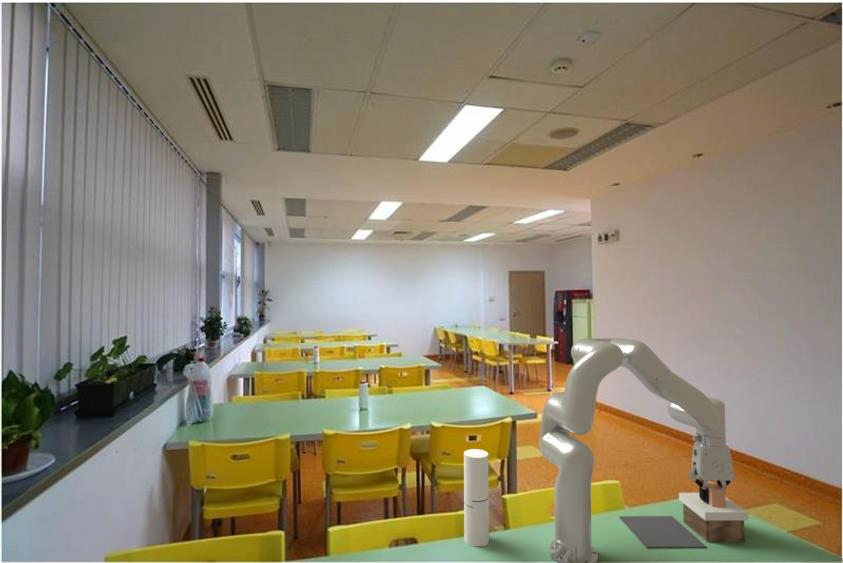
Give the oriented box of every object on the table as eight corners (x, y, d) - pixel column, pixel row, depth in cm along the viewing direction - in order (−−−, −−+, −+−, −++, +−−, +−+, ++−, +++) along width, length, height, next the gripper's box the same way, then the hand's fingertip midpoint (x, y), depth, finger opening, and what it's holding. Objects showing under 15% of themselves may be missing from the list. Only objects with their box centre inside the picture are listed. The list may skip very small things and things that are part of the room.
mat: (646, 548, 123) (646, 546, 123) (619, 517, 140) (619, 516, 140) (706, 547, 124) (706, 546, 124) (671, 517, 140) (671, 516, 140)
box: (706, 541, 126) (706, 513, 127) (683, 522, 137) (683, 496, 138) (744, 541, 127) (743, 513, 127) (718, 522, 138) (717, 496, 138)
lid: (705, 520, 126) (704, 494, 126) (679, 500, 138) (678, 476, 139) (748, 520, 126) (748, 494, 126) (718, 499, 139) (718, 476, 139)
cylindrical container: (488, 548, 124) (487, 458, 124) (463, 545, 125) (462, 456, 126) (489, 534, 131) (488, 449, 131) (465, 531, 132) (465, 448, 133)
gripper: (691, 444, 129) (692, 507, 129) (747, 444, 129) (748, 506, 129) (676, 436, 137) (677, 495, 136) (729, 435, 137) (730, 495, 136)
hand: (712, 500), depth 132 cm, fingers closed on lid, 4 cm apart
